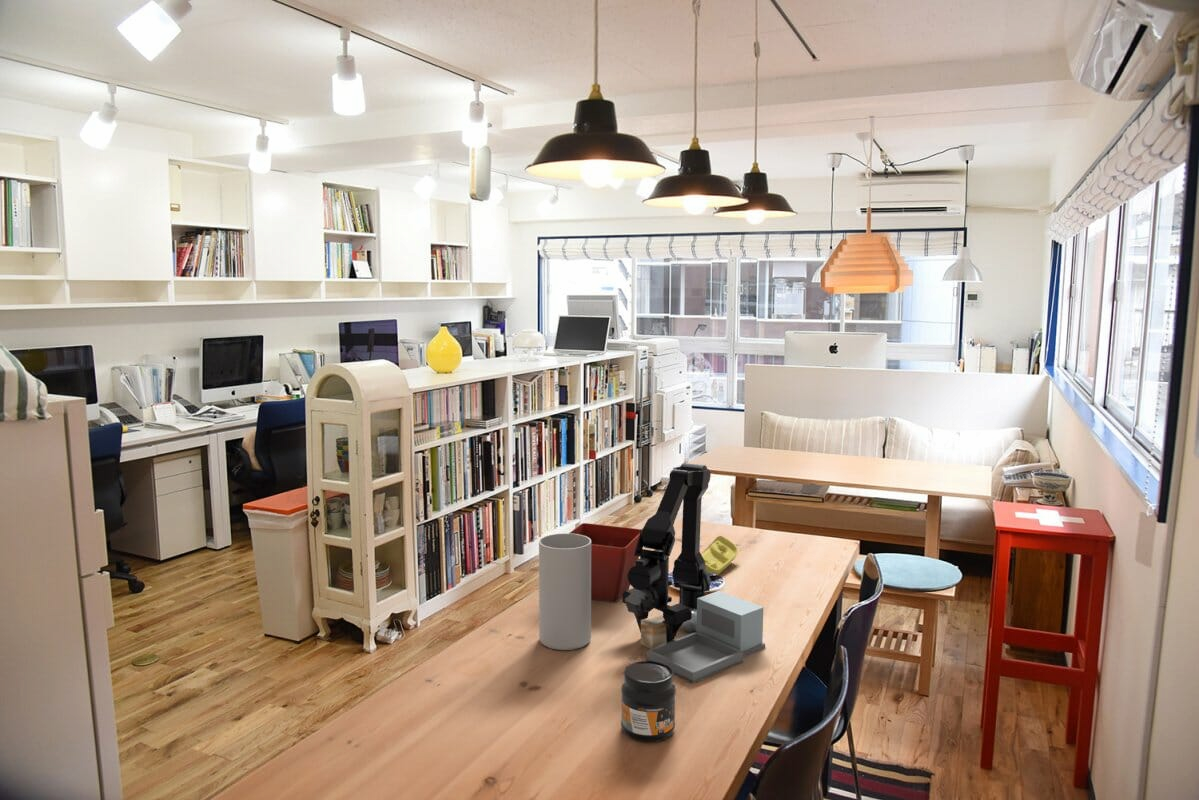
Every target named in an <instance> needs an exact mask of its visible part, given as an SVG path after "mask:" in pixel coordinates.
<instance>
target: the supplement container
mask: <svg viewBox="0 0 1199 800" xmlns="http://www.w3.org/2000/svg"><path fill="white" fill-rule="evenodd" d="M676 689H677V688H676V686H675V685H674V674H673V671H672V669H671V668H670V667H668V666H667V665H665V664H662V663H659V662H653V661H647V660H646V661H645V660H644V661H643V660H642V661H638V662H637V661H636V662H633V663H631V664H629V665H627V666H626V667H625V668H624V670H623V682H622V684H621V689H620V692H621V720H620V725H621V730H622V731H623V732H624V734H625V735H626V736H628V737H629V738H631V739H633V740H636V741H639V742H645V743H655V742H659V741H663V740H666V739H667V738H669V737H670V736H671V735H672V734H673V733H674V732H675V728H676V723H675V722H676V721H675V720H676V719H675V718H676V713H675V712H676V711H675V710H676V694H677V690H676Z"/></svg>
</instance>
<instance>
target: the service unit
mask: <svg viewBox="0 0 1199 800" xmlns="http://www.w3.org/2000/svg"><path fill="white" fill-rule="evenodd" d="M763 631H764V606H761V605H759V604H756V603H753V602H750V601H748V600H745V599H743V598H739V597H737V596H734V595H731V594H729V593H727V592H723V591H722V590H721V591H720V590H719V591H714V592H712V593H709V594H706V595H705V596H703V597H700V598H697V625H696V632H699V633H701V634H703V635H706V636H708V637H710V638H713V639H715V640H717V641H720V642H722V643H724V644H727V645H729V646H731V647H734V648H736V649H738V650H741V651H743V658H744V657H746V656H748V655H751V654H752V653H755V652H758V651H760V650H763V649H765V648H766V643H765V642H763V636H764V634H763Z"/></svg>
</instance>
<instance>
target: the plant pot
mask: <svg viewBox="0 0 1199 800" xmlns="http://www.w3.org/2000/svg"><path fill="white" fill-rule="evenodd" d="M642 529H643V528H641V529H639V528H633V527H624V526H623V527H622V526H613V525H607V524H606V525H605V524H596V523H588V522H582V523H580V524H579V525H578V526H577V527H575V528H574V529H572V530H571V531H570V532H569V533H570V534H579V535H583V536H586V537H588V538H590V539H591V600H597V601H603V602H611V603H615V602H618V601H619V600H620V599H621V598H622V595H623V593H624V592H625V591H626V590H629V588H630V587H631V585H630V583H629V581H628V572H629V570H630V569H631V568H632V567H633V566H635V565H636V560H637V559H640V556H635V555H634V553H635V550H636V546H637V543H638V539H639V536H640V532H641V530H642Z"/></svg>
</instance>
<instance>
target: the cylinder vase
mask: <svg viewBox="0 0 1199 800" xmlns="http://www.w3.org/2000/svg"><path fill="white" fill-rule="evenodd" d="M538 599H539V600H538V603H539V604H538V607H539V608H538V609H539V611H538V612H539V613H538V615H539V616H538V617H539V619H538V620H539V623H538V625H539V627H538V628H539V634H538V635H539V636H538V638H539V641H540V643H541V644H542V645H543V646H545V647H546V648H549V649H552V650H557V651H573V650H578V649H580V648H581V649H582V648H583V647H585V646H587V645H588V644H589V643H590V641H591V638H592V599H591V539H590V538H588V537H586V536H583V535H579V534H570V532H568V533H566V532H565V533H553V534H552V533H551V534H548V535H545V536H543V537H541V538H540V539H539V540H538Z"/></svg>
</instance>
